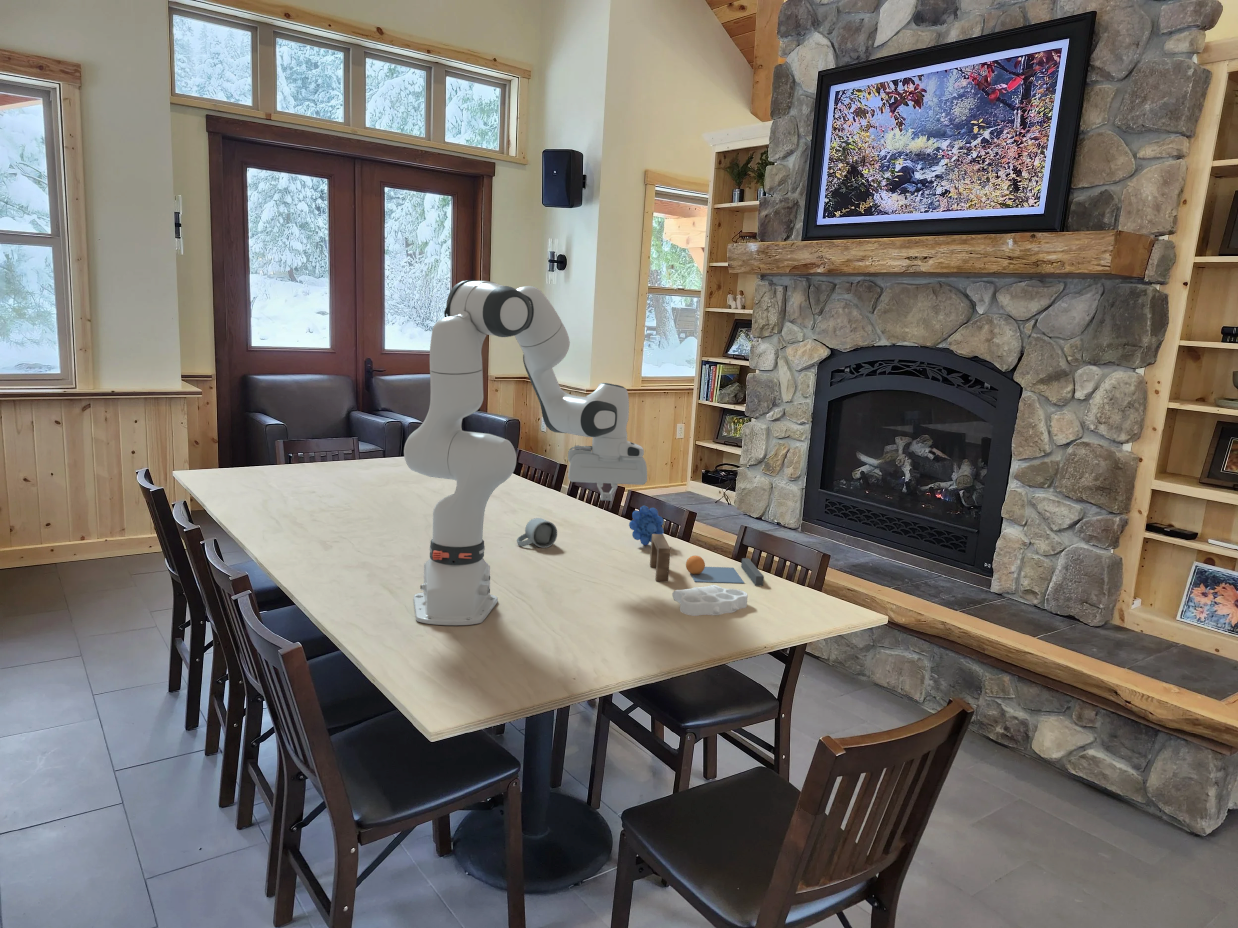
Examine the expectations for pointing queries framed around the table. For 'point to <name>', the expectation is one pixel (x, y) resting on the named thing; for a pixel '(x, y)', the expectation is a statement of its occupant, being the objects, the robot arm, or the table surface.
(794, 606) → the table surface
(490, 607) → the robot arm
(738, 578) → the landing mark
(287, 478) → the table surface
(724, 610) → the white paint palette
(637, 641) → the table surface
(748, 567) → the rail
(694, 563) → the ball
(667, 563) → the bridge
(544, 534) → the ceramic mug
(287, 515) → the table surface
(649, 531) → the blue flower
